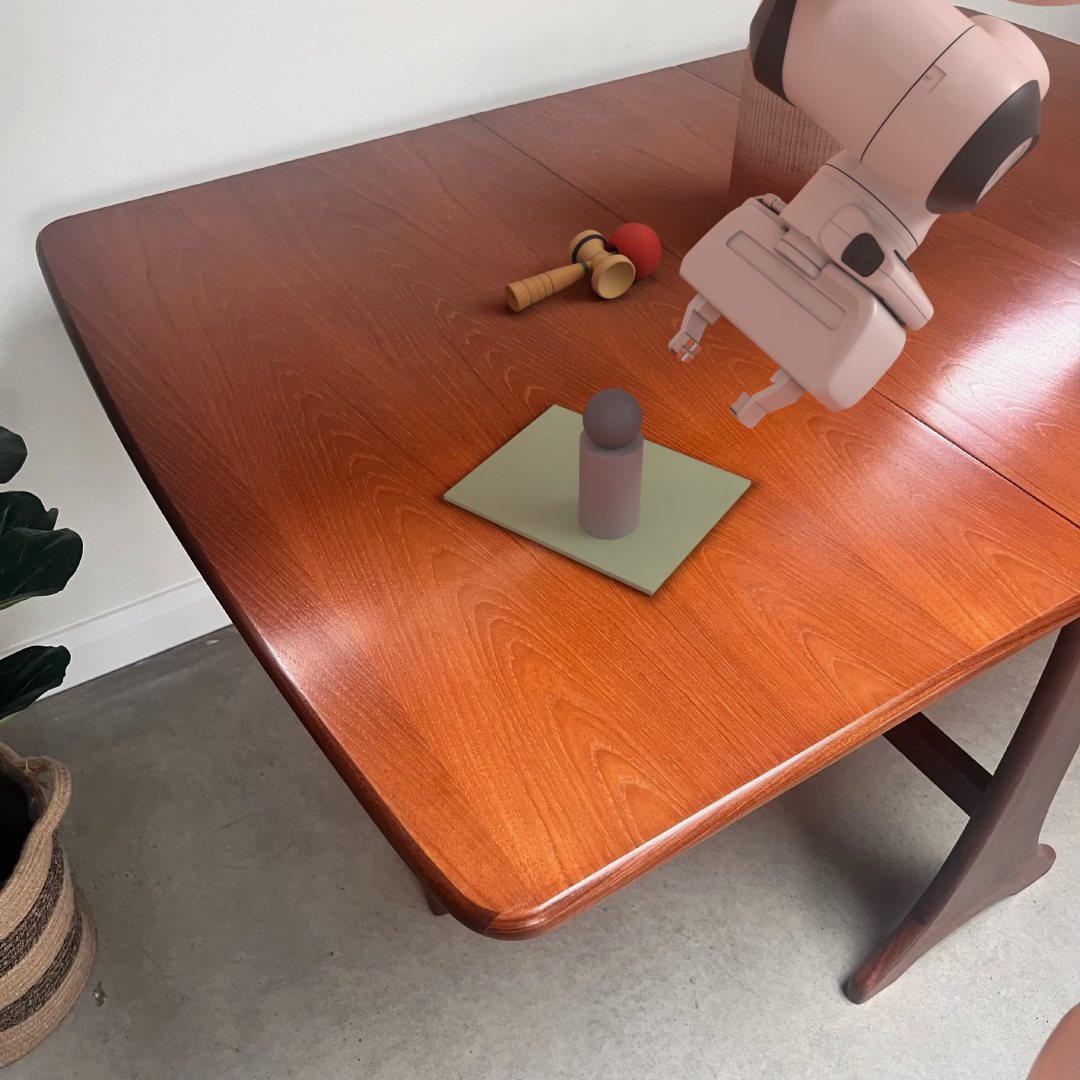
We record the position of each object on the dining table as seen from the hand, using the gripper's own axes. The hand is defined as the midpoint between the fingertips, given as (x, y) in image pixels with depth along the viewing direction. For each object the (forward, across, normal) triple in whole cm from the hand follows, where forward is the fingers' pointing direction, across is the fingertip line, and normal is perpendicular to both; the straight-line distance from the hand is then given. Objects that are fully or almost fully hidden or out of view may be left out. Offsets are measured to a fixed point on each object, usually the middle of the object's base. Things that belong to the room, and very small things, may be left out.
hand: (706, 386), depth 78 cm
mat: (+13, -4, +3) cm, 14 cm away
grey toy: (+13, 0, +2) cm, 13 cm away
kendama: (+3, -36, +13) cm, 38 cm away
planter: (-18, -38, +34) cm, 54 cm away
